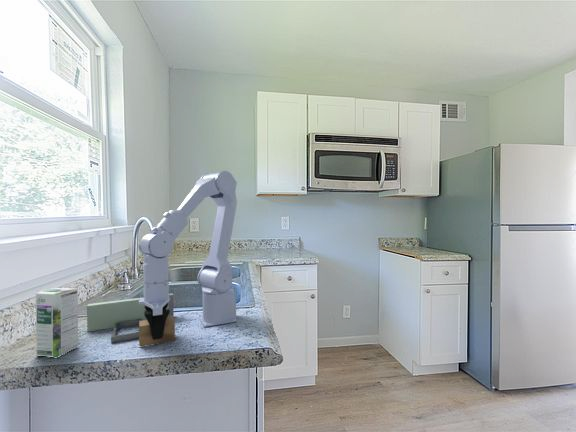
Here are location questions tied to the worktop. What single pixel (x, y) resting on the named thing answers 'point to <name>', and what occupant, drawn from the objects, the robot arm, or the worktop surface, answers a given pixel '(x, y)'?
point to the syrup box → (56, 321)
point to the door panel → (117, 312)
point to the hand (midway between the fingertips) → (157, 335)
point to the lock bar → (146, 336)
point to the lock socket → (124, 337)
